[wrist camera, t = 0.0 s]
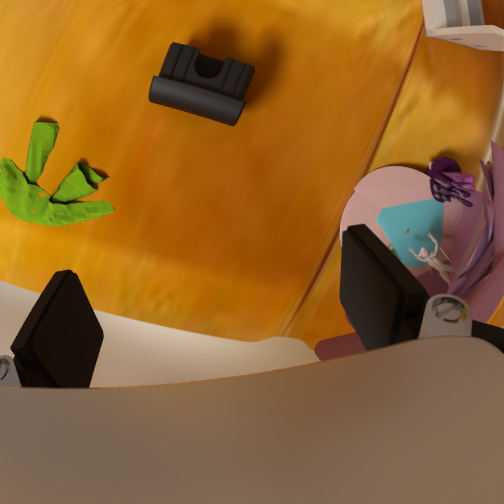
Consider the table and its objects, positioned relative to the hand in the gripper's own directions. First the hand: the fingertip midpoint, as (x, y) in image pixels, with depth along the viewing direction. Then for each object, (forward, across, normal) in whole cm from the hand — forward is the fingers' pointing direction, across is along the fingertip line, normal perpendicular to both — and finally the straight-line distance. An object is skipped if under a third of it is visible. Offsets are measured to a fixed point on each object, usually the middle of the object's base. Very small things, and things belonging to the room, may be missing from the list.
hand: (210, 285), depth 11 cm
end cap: (+32, 0, -7) cm, 32 cm away
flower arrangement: (+32, -26, +16) cm, 44 cm away
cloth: (+32, +22, 0) cm, 39 cm away
